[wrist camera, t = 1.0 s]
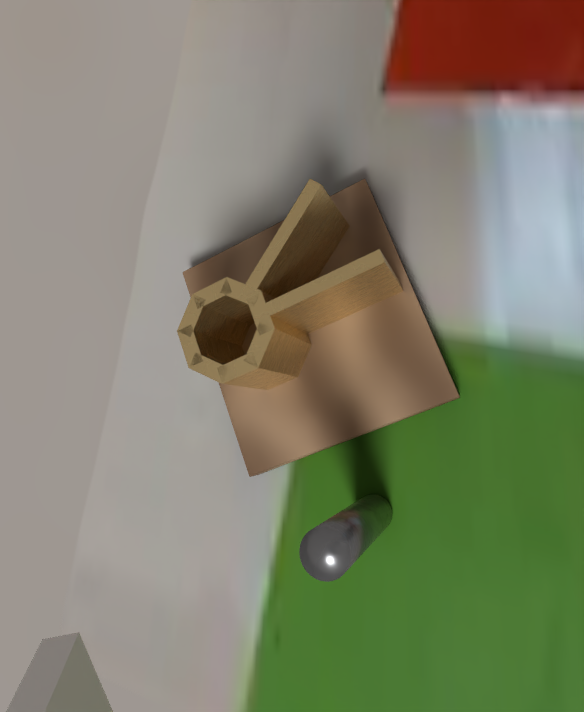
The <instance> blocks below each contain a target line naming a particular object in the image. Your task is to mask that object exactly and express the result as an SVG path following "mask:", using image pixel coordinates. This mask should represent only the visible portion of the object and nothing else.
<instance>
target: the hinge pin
mask: <svg viewBox="0 0 584 712" xmlns="http://www.w3.org/2000/svg"><path fill="white" fill-rule="evenodd" d="M391 520H392V508H391V506H390V504H389V502H388V501H387V500H386V499H385V498H384V497H382V496H380V495H377V494H369V495H366V496H364V497H363V498H361V499H360V500H358V501H356V502H355V503H353V504H352V505H350V506H348V507H347V508H345V509H344V510H342V511H340V512H339V513H337V514H336V515H334V516H333V517H331V518H329V519H328V520H326V521H325V522H323V523H321V524H320V525H318V526H317V527H315V528H313V529H312V530H310V531H309V532H308V533H307V534H306V535H305V536H304V537H303V539H302V541H301V544H300V559H301V562H302V565H303V567H304V568H305V570H306V571H307V572H308V573H309V574H310V575H311V576H312V577H314V578H316V579H318V580H321V581H333V580H336V579H338V578H340V577H341V576H342V575H343V574H344V573H345V572H346V571H347V570H348V569H349V568H350V567H351V565H352V564H353V563H354V562H355V561H356V560H357V559H358V558H359V557H360V556H361V555H362V554H363V552H364V551H365V550H366V549H367V548H368V547H369V546H370V545H371V544H372V543H373V542H374V541H375V539H376V538H377V537H378V536H379V535H380V534H381V533H382V532H383V531H384V530H385V529H386V527H387V526H388V525H389V524H390V522H391Z"/></svg>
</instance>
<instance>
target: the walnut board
mask: <svg viewBox="0 0 584 712" xmlns="http://www.w3.org/2000/svg"><path fill="white" fill-rule="evenodd" d="M330 198H331V199H332V201H333V202H334V204H335V205H336V207H337V208H338V210H339V211H340V212H341V214H342V215H343V217H344V218H345V220H346V221H347V223H348V224H349V226H350V227H349V228H348V230H347V232H346V233H345V235H344V236H343V238H342V239H341V241H340V243H339V244H338V246H337V247H336V249H335V251H334V252H333V254H332V255H331V257H330V259H329V260H328V262H327V263H326V265H325V267H324V268H323V270H322V271H321V273H320V275H319V276H318V278H319V277H321V276H324V275H326V274H328V273H330V272H332V271H334V270H336V269H338V268H340V267H343V266H345V265H347V264H349V263H351V262H353V261H355V260H357V259H359V258H361V257H364V256H366V255H368V254H370V253H372V252H374V251H376V250H378V249H380V251H381V252H382V254H383V256H384V257H385V259H386V260H387V262H388V264H389V265H390V267H391V269H392V270H393V272H394V274H395V275H396V277H397V278H398V280H399V282H400V285H401V287H402V289H403V292H401V293H398V294H396V295H394V296H392V297H390V298H387V299H385V300H383V301H381V302H378V303H376V304H374V305H372V306H369V307H367V308H365V309H363V310H360V311H358V312H356V313H354V314H352V315H349V316H347V317H345V318H343V319H340V320H338V321H336V322H334V323H331V324H329V325H327V326H325V327H322V328H320V329H318V330H316V331H314V332H311V333H309V334H308V336H309V339H310V342H311V344H312V345H311V348H310V350H309V352H308V355H307V357H306V359H305V362H304V364H303V366H302V369H301V371H300V374H299V376H298V377H297V378H295V379H293V380H290V381H288V382H286V383H283V384H281V385H278V386H276V387H274V388H271V389H269V390H262V389H255V388H248V387H241V386H234V385H227V384H221V383H219V385H220V388H221V391H222V394H223V397H224V400H225V403H226V406H227V409H228V412H229V415H230V419H231V422H232V425H233V428H234V431H235V434H236V437H237V440H238V443H239V446H240V449H241V452H242V455H243V458H244V461H245V464H246V467H247V470H248V473H249V476H250V477H251V476H255V475H259V474H261V473H264V472H267V471H269V470H272V469H274V468H277V467H280V466H282V465H285V464H288V463H290V462H293V461H295V460H298V459H301V458H303V457H306V456H309V455H311V454H314V453H316V452H319V451H322V450H324V449H327V448H330V447H332V446H335V445H337V444H340V443H343V442H345V441H348V440H350V439H353V438H356V437H358V436H361V435H364V434H366V433H369V432H371V431H374V430H377V429H379V428H382V427H385V426H387V425H390V424H392V423H395V422H398V421H400V420H403V419H406V418H408V417H411V416H413V415H416V414H419V413H421V412H424V411H426V410H429V409H432V408H434V407H437V406H440V405H442V404H445V403H447V402H450V401H453V400H455V399H458V398H460V396H459V393H458V391H457V389H456V387H455V384H454V382H453V380H452V377H451V375H450V373H449V370H448V368H447V366H446V363H445V361H444V359H443V356H442V354H441V352H440V350H439V347H438V345H437V343H436V340H435V338H434V336H433V333H432V331H431V329H430V326H429V324H428V322H427V320H426V317H425V315H424V313H423V310H422V308H421V306H420V303H419V301H418V299H417V296H416V294H415V292H414V290H413V287H412V285H411V283H410V280H409V278H408V276H407V273H406V271H405V269H404V266H403V264H402V262H401V260H400V257H399V255H398V253H397V250H396V248H395V246H394V243H393V241H392V239H391V236H390V234H389V232H388V230H387V227H386V225H385V223H384V220H383V218H382V216H381V213H380V211H379V209H378V206H377V204H376V202H375V199H374V197H373V195H372V193H371V190H370V188H369V186H368V184H367V182H366V180H365V179H363V180H361V181H359V182H357V183H355V184H353V185H351V186H349V187H347V188H345V189H343V190H341V191H340V192H338V193H336V194H334V195H332V196H330ZM283 222H284V220H283V221H281V222H279V223H277V224H276V225H274V226H272V227H270V228H268V229H266V230H264V231H262V232H260V233H258V234H256V235H254V236H252V237H250V238H248V239H246V240H244V241H243V242H241V243H239V244H237V245H235V246H233V247H231V248H229V249H227V250H225V251H223V252H221V253H219V254H217V255H215V256H213V257H212V258H210V259H208V260H206V261H204V262H202V263H200V264H198V265H196V266H194V267H192V268H190V269H188V270H186V271H184V272H183V275H184V278H185V281H186V284H187V288H188V291H189V294H190V297H191V296H192V294H194V293H196V292H198V291H200V290H202V289H204V288H206V287H208V286H210V285H212V284H214V283H216V282H218V281H220V280H222V279H224V278H226V277H228V278H231V279H233V280H236V281H238V282H241V283H243V284H246V282H247V280H248V279H249V277H250V276H251V274H252V272H253V271H254V269H255V267H256V266H257V264H258V263H259V261H260V259H261V258H262V256H263V254H264V253H265V251H266V249H267V248H268V246H269V245H270V243H271V241H272V240H273V238H274V236H275V235H276V233H277V232H278V230H279V228H280V227H281V225H282V223H283ZM256 330H257V327H256V325H255V324H253V325H251V326H250V328H249V330H248V333H247V335H246V338H245V340H244V342H243V345H242V347H243V350H244V353H245V355H246V354H247V352H248V349H249V347H250V345H251V342H252V340H253V337H254V335H255V333H256Z"/></svg>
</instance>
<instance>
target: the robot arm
mask: <svg viewBox="0 0 584 712" xmlns="http://www.w3.org/2000/svg"><path fill="white" fill-rule="evenodd" d="M6 712H113V711H112V708H111V707H110V704H109V701H108V699H107V697H106V694H105V692H104V690H103V688H102V685H101V683H100V680H99V678H98V676H97V673H96V671H95V669H94V666H93V664H92V662H91V660H90V657H89V655H88V653H87V650H86V648H85V646H84V643H83V641H82V639H81V636H80V634H79V633H74V634H69V635H63V636H58V637H53V638H48V639H42V641H41V643H40V646H39V648H38V649H37V651H36V653H35V655H34V657H33V659H32V661H31V663H30V665H29V667H28V669H27V671H26V673H25V675H24V677H23V679H22V681H21V683H20V685H19V687H18V689H17V691H16V693H15V695H14V697H13V699H12V701H11V703H10V705H9V707H8V709H7V711H6Z"/></svg>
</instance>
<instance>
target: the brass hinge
mask: <svg viewBox="0 0 584 712" xmlns="http://www.w3.org/2000/svg"><path fill="white" fill-rule="evenodd" d="M349 227H350V226H349V224H348V223H347V221H346V220H345V218H344V217H343V215H342V214H341V212H340V211H339V210H338V208H337V207H336V205H335V204H334V202H333V201H332V199H331V198H330V197H329V195H328V194H327V192H326V191H325V189H324V188H323V186H322V185H321V184H319V183H317V182H315V181H314V180H312V179H309V181H308V183H307V184H306V186H305V188H304V189H303V191H302V192H301V194H300V196H299V197H298V199H297V201H296V202H295V204H294V206H293V207H292V209H291V210H290V212H289V214H288V215H287V217H286V219H285V220H284V222H283V223H282V225H281V227H280V228H279V230H278V232H277V233H276V235H275V236H274V238H273V240H272V241H271V243H270V245H269V246H268V248H267V249H266V251H265V253H264V254H263V256H262V258H261V259H260V261H259V263H258V264H257V266H256V267H255V269H254V271H253V272H252V274H251V276H250V277H249V279H248V280H247V282H246V284H243V283H241V282H238V281H236V280H233V279H231V278H228V277H226V278H224V279H222V280H220V281H218V282H216V283H214V284H212V285H210V286H208V287H206V288H204V289H202V290H200V291H198V292H196V293H194V294H192V296H191V299H190V301H189V304H188V306H187V309H186V311H185V313H184V316H183V318H182V321H181V323H180V325H179V328H178V330H177V332H178V335H179V338H180V342H181V345H182V348H183V351H184V354H185V357H186V361H187V364H188V367H189V368H190V369H192V370H194V371H196V372H198V373H201V374H203V375H205V376H207V377H209V378H211V379H213V380H215V381H217V382H219V383H221V384H227V385H234V386H241V387H248V388H255V389H262V390H269V389H271V388H274V387H276V386H278V385H281V384H283V383H286V382H288V381H290V380H293V379H295V378H297V377H298V376H299V374H300V371H301V369H302V366H303V364H304V362H305V359H306V357H307V355H308V352H309V350H310V348H311V345H312V344H311V342H310V339H309V336H308V334H309V333H311V332H314V331H316V330H318V329H320V328H322V327H325V326H327V325H329V324H331V323H334V322H336V321H338V320H340V319H343V318H345V317H347V316H349V315H352V314H354V313H356V312H358V311H360V310H363V309H365V308H367V307H369V306H372V305H374V304H376V303H378V302H381V301H383V300H385V299H387V298H390V297H392V296H394V295H396V294H398V293H401V292H403V289H402V287H401V285H400V282H399V280H398V278H397V277H396V275H395V274H394V272H393V270H392V269H391V267H390V265H389V264H388V262H387V260H386V259H385V257H384V256H383V254H382V252H381V251H380V249H378V250H376V251H374V252H372V253H370V254H368V255H366V256H364V257H361V258H359V259H357V260H355V261H353V262H351V263H349V264H347V265H345V266H343V267H340V268H338V269H336V270H334V271H332V272H330V273H328V274H326V275H324V276H321V277H319V278H318V276H319V275H320V273H321V271H322V270H323V268H324V267H325V265H326V263H327V262H328V260H329V259H330V257H331V255H332V254H333V252H334V251H335V249H336V247H337V246H338V244H339V243H340V241H341V239H342V238H343V236H344V235H345V233H346V232H347V230H348V228H349ZM253 324H255V325H256V327H257V330H256V333H255V335H254V337H253V340H252V342H251V345H250V347H249V349H248V352H247V354H246V355H245V353H244V350H243V347H242V345H243V342H244V340H245V338H246V335H247V333H248V330H249V328H250V326H251V325H253Z"/></svg>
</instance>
